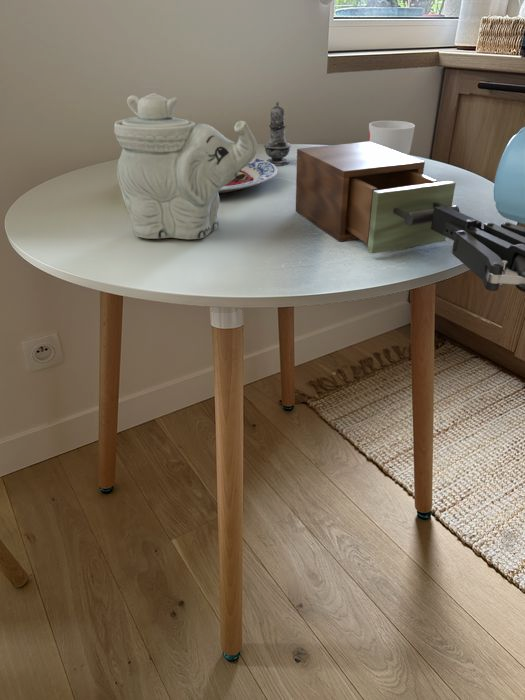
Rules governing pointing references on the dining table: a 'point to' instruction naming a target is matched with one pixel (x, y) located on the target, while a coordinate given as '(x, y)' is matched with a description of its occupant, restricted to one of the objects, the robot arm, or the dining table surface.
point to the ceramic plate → (251, 175)
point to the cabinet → (340, 180)
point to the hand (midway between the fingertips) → (437, 217)
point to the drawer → (396, 209)
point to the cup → (392, 135)
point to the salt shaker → (277, 138)
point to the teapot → (175, 169)
